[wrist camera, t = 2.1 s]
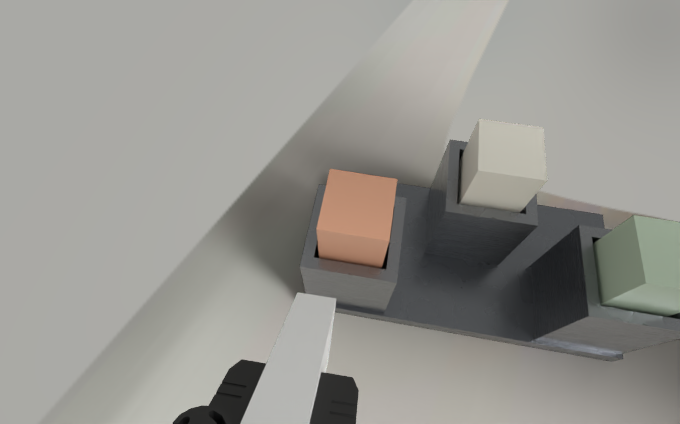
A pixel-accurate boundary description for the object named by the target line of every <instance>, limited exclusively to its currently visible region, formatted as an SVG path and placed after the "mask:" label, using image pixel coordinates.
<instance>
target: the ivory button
mask: <svg viewBox="0 0 680 424" xmlns="http://www.w3.org/2000/svg"><path fill="white" fill-rule="evenodd" d="M546 182H547V170H546V157H545V144H544V130H543V128H542V127H535V126H528V125H521V124H513V123H507V122H500V121H492V120H485V119H479V120H478V122H477V124H476V127H475V129H474V131H473V133H472V135H471V137H470V139H469V142H468V144H467V146H466V148H465V150H464V152H463V154H462V157H461V159H460V161H459V173H458V194H457V204H463V205H470V206H476V207H483V208H489V209H496V210H502V211H509V212H515V213H520V212H521V211H522V209H523V208H524V207H525V206H526V205H527V204H528V203H529V201H530V200H531V199H532V198H533V197H534V196H535V194H536V193H537V192H538V191H539V190H540V189H541V187H542V186H543V185H544V184H545V183H546Z"/></svg>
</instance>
